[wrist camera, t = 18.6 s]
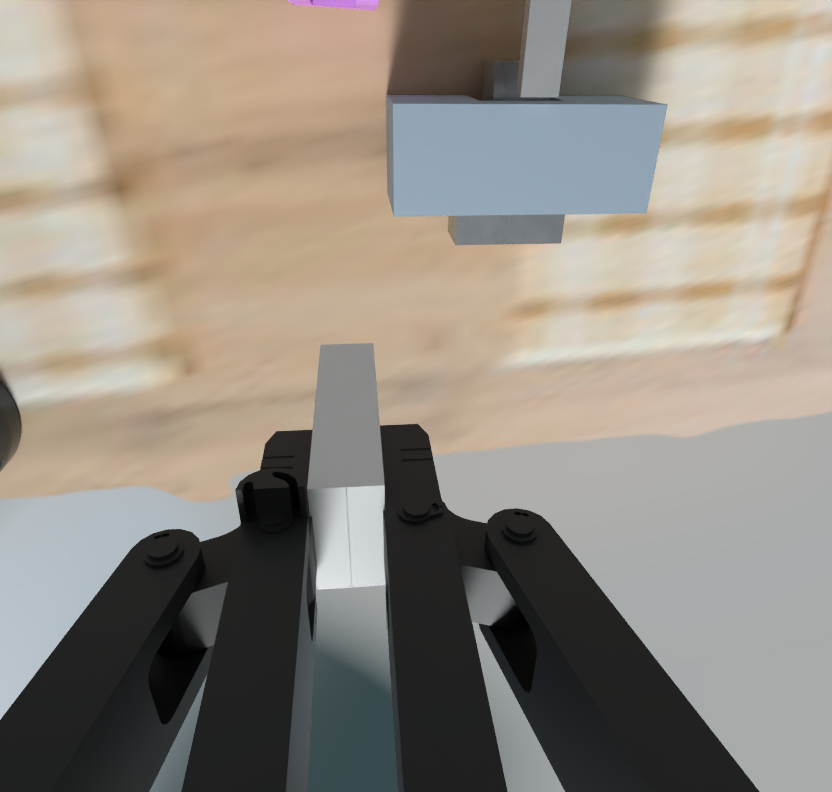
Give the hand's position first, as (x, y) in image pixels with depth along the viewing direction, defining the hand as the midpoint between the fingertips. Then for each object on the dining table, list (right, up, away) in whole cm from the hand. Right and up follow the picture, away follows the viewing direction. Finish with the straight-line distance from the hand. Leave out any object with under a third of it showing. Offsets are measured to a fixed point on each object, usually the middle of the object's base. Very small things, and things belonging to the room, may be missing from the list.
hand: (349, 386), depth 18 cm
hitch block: (+9, +19, +30) cm, 36 cm away
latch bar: (+10, +25, +17) cm, 32 cm away
